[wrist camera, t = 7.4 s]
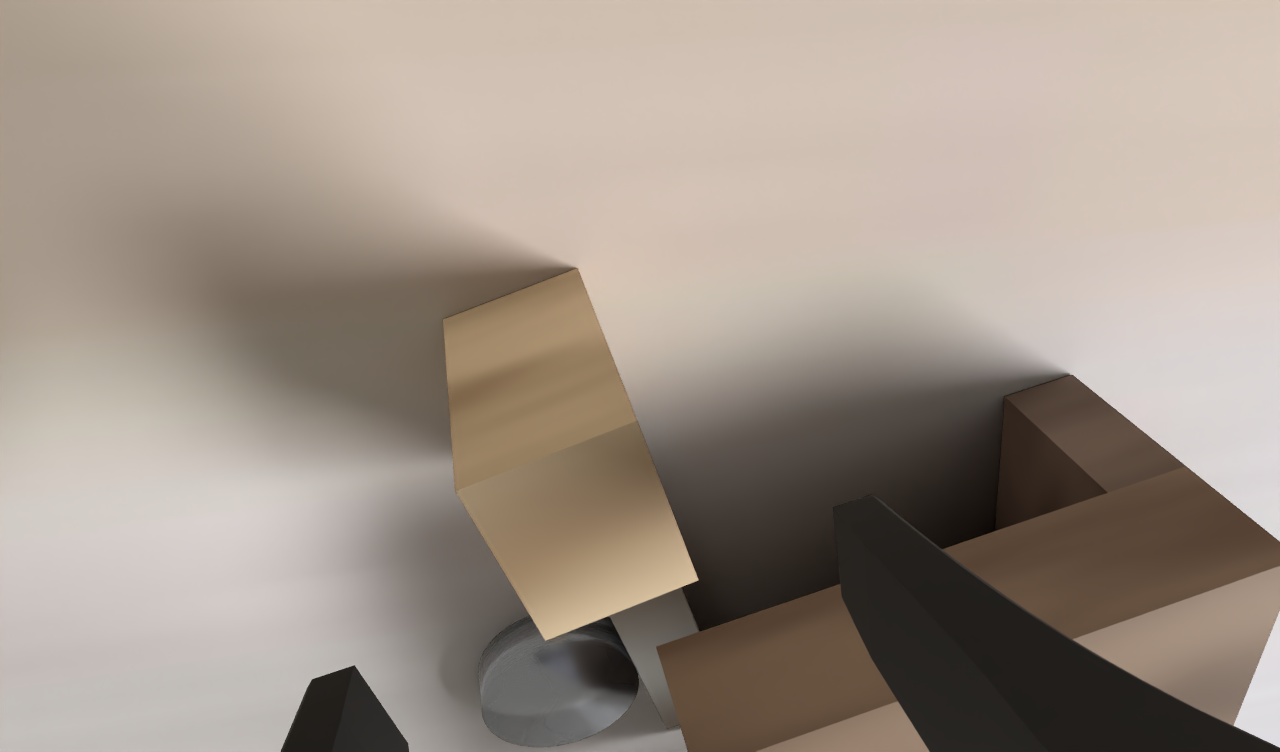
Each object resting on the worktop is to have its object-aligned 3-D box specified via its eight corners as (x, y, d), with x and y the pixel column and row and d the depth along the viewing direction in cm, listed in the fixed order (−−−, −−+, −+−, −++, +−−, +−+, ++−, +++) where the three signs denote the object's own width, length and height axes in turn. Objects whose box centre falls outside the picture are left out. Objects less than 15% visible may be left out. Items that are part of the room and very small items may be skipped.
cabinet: (1041, 604, 28) (1203, 799, 22) (683, 730, 27) (756, 967, 21) (1072, 374, 22) (1300, 558, 17) (617, 523, 21) (694, 772, 16)
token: (644, 667, 25) (656, 709, 24) (511, 720, 25) (517, 766, 24) (600, 580, 23) (611, 622, 22) (452, 639, 23) (455, 685, 21)
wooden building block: (731, 666, 26) (798, 839, 21) (642, 701, 26) (691, 882, 21) (577, 268, 17) (637, 420, 13) (443, 319, 17) (455, 491, 13)
